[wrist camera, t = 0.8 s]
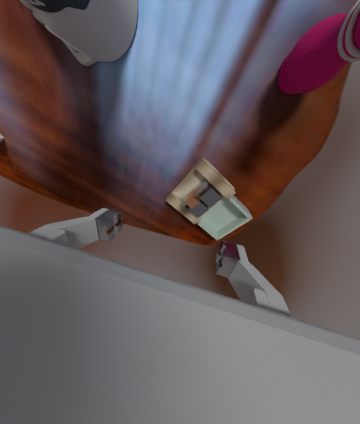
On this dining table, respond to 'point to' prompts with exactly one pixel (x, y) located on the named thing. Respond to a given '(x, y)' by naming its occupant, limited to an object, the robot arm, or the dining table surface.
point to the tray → (224, 217)
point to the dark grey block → (210, 196)
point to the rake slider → (194, 195)
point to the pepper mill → (322, 53)
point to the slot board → (192, 181)
